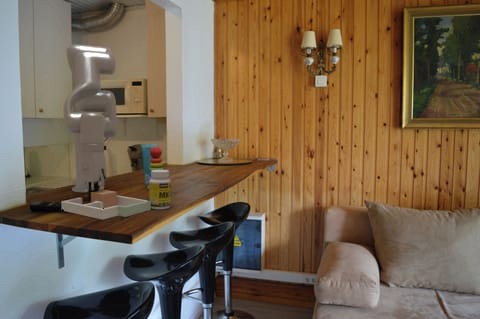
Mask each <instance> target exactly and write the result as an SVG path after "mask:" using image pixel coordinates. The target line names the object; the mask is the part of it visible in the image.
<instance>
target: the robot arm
mask: <svg viewBox="0 0 480 319" xmlns="http://www.w3.org/2000/svg"><path fill="white" fill-rule="evenodd" d="M66 60H67V63H68V67H69V69H70V72H71V74H72V77H73V80H74V89H73V90H72V91H71V92H70V93H69V94H68V95H67V97H66V98H65V101H64V105H63V124H64V129H65V130H66V132H68V133H70V134H73V139H74V140H73V141H74V153H75V155H74V157H75V179H74V180H72V184H74V186H73V187H72V188H71V191H72V192H75V193H87V200H88V202H91V192H97V191H102V190H105V185H106V183H105V181H106V180H107V177H108V176H107V175H108V174H107V173H108V172H107V162H106V161H107V160H106V159H107V158H106V155H105V140H104V139H111V138H115V136H117V132H118V120H117V116H118V115H117V101H116V98H115V94H114V92H112V91H110V90H107V89H106V90H104V89H101V76H100V75H109V76H111V75H114V73H116V58H115V56H114V53H113V51H112V49H111V48H110V47H107V46H98V45H89V44H79V43H78V44H70V45H69V46H68V47H67V48H66ZM74 105H75V108H76V109H77V112H76V111H75V112H74V111H73V107H74ZM78 111H79V112H78Z"/></svg>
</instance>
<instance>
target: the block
mask: <svg viewBox="0 0 480 319" xmlns="http://www.w3.org/2000/svg"><path fill="white" fill-rule="evenodd" d="M117 195H118V191H114V190H108V189H104V190H101V191H97V192H91V201H90V203H93V202H94V201H100V202H103V208H108V207H113V206H117Z"/></svg>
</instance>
